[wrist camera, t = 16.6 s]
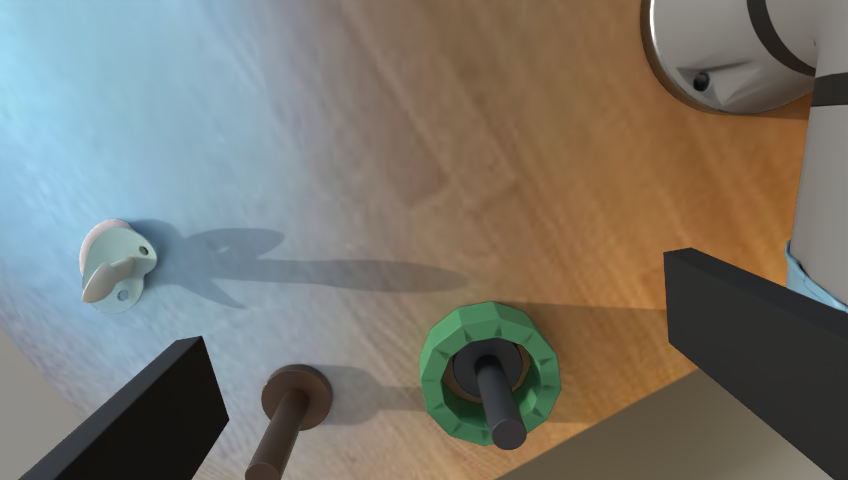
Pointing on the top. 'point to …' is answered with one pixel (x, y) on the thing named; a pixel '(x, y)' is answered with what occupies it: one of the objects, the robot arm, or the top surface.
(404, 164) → the top surface
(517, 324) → the ring
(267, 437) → the walnut peg
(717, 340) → the robot arm
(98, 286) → the pacifier
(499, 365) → the charcoal peg
